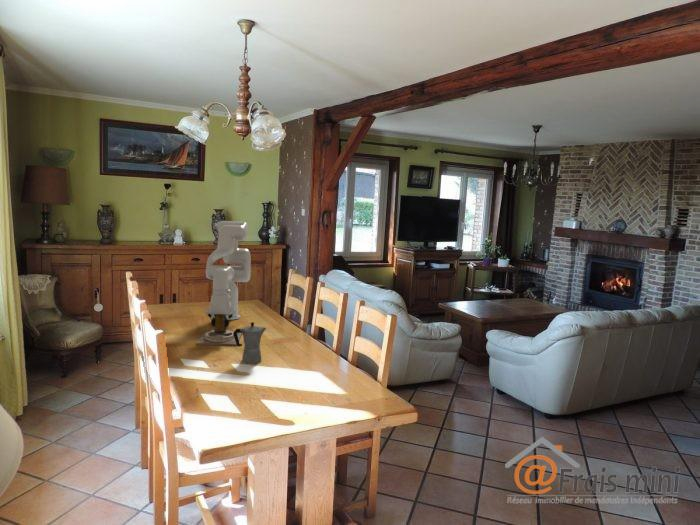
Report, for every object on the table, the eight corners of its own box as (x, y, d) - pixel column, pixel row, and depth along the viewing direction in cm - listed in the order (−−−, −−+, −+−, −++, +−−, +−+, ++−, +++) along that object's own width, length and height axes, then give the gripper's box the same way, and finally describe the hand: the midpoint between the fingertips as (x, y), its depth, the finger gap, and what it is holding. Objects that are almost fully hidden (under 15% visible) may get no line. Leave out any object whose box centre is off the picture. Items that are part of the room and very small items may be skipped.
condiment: (223, 329, 260) (224, 306, 258) (231, 333, 253) (231, 310, 252) (210, 331, 255) (210, 308, 253) (217, 335, 249) (217, 312, 247)
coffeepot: (262, 355, 234) (262, 318, 231) (268, 361, 226) (269, 323, 223) (229, 359, 226) (230, 321, 223) (235, 366, 218) (236, 326, 215)
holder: (204, 333, 264) (204, 327, 263) (242, 334, 266) (242, 328, 265) (196, 344, 244) (196, 339, 244) (236, 345, 246) (237, 340, 245)
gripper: (238, 291, 256) (238, 324, 258) (204, 290, 254) (204, 324, 257) (236, 294, 248) (236, 328, 251) (201, 293, 247) (201, 328, 249)
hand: (220, 326), depth 254 cm, fingers closed on condiment, 6 cm apart
